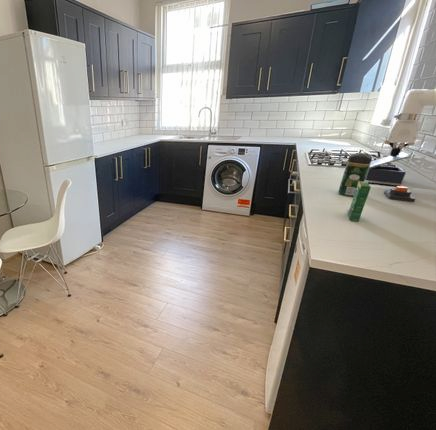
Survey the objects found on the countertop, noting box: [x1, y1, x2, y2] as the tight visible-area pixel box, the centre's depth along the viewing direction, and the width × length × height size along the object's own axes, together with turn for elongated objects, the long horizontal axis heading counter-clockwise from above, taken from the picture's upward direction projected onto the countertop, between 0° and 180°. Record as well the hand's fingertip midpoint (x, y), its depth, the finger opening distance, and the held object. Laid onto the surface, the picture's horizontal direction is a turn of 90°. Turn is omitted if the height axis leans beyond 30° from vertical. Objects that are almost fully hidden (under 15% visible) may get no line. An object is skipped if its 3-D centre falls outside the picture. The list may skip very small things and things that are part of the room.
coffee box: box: [347, 181, 372, 222], centre depth 100 cm, size 8×3×13 cm, turn 145°
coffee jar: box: [338, 152, 373, 197], centre depth 125 cm, size 10×8×19 cm
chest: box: [364, 165, 407, 188], centre depth 144 cm, size 14×12×8 cm
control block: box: [383, 187, 416, 203], centre depth 123 cm, size 10×8×4 cm
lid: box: [369, 151, 411, 168], centre depth 141 cm, size 14×12×1 cm
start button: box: [395, 185, 409, 192], centre depth 122 cm, size 4×4×2 cm
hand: (393, 156), depth 139 cm, fingers closed
